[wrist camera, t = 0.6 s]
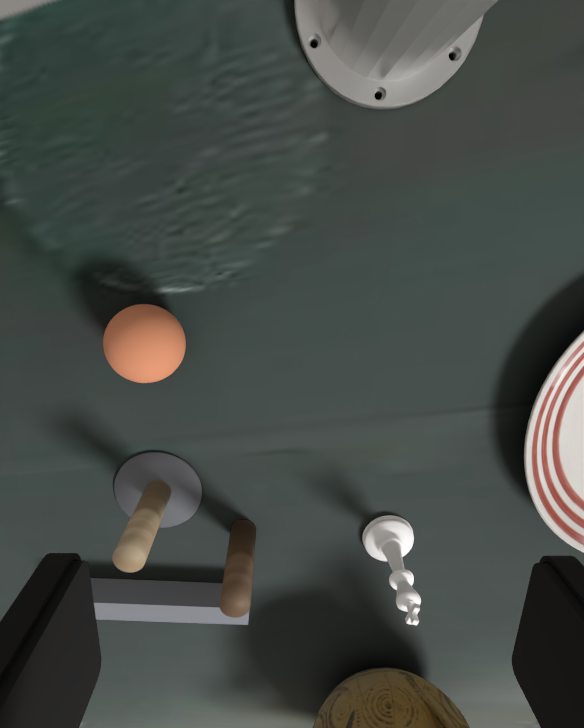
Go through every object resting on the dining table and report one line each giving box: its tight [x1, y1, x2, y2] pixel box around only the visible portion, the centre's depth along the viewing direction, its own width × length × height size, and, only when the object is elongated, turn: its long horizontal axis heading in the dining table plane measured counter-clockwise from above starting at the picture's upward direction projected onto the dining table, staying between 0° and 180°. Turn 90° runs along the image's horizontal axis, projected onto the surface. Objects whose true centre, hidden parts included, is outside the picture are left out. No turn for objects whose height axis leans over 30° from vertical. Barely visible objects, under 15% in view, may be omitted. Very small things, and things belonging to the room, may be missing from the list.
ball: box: [103, 304, 186, 383], centre depth 36 cm, size 6×6×6 cm
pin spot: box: [114, 452, 202, 528], centre depth 43 cm, size 8×8×1 cm
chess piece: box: [362, 515, 421, 625], centre depth 41 cm, size 5×5×10 cm
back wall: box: [91, 578, 249, 625], centre depth 46 cm, size 2×18×3 cm, turn 86°
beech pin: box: [113, 480, 171, 572], centre depth 39 cm, size 2×2×9 cm
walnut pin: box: [219, 520, 256, 618], centre depth 41 cm, size 2×2×9 cm
